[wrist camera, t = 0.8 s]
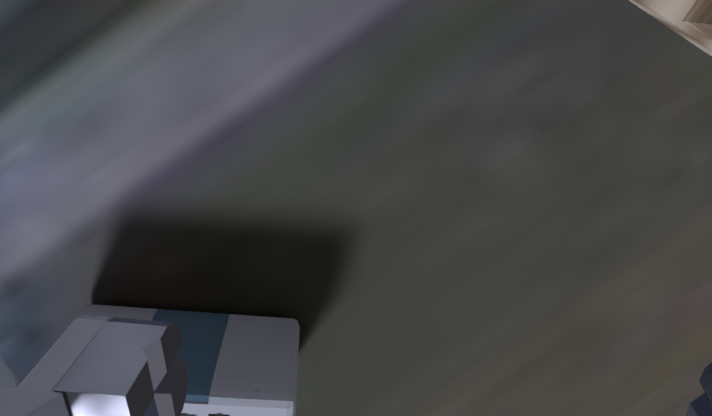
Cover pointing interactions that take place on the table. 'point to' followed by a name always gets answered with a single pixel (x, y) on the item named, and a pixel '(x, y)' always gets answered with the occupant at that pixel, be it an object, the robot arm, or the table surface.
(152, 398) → the robot arm
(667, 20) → the balance beam
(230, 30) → the table surface
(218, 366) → the stereo radio cassette player
